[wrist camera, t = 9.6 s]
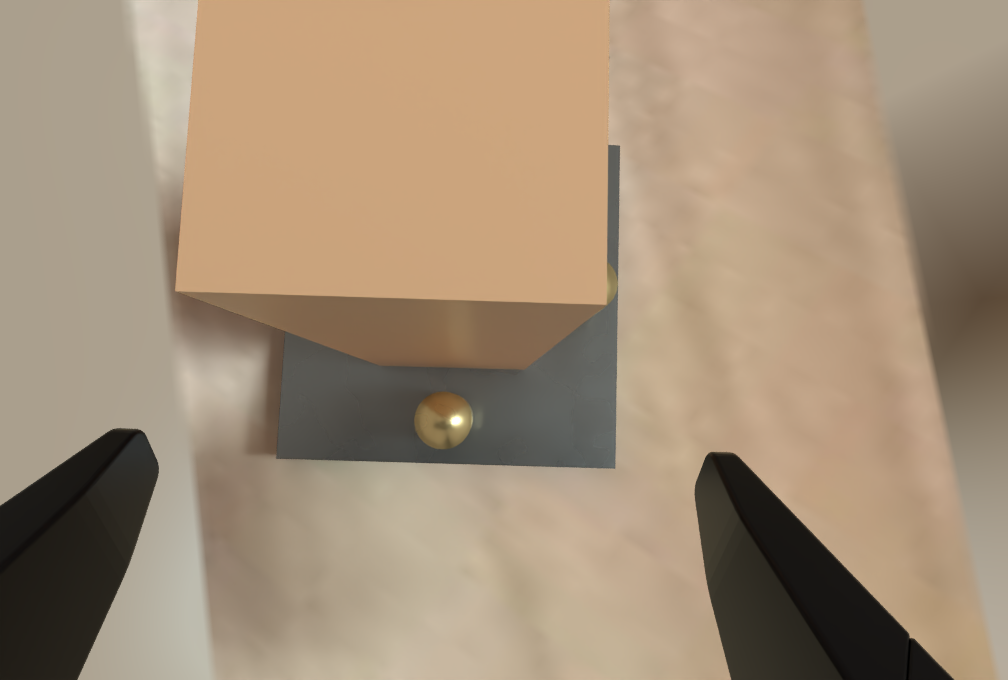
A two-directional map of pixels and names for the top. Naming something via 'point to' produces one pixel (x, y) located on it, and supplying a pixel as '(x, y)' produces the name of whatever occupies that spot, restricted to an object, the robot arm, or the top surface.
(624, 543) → the top surface
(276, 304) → the block
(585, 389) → the chassis
